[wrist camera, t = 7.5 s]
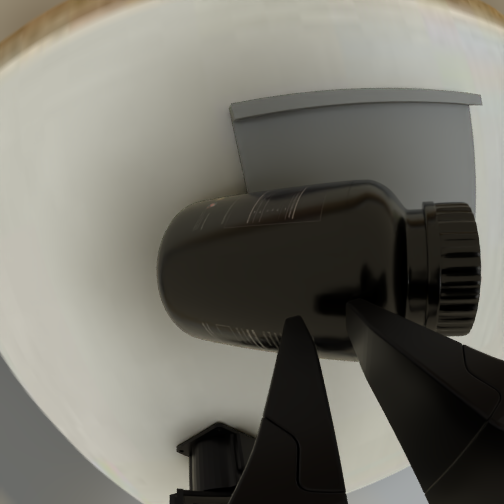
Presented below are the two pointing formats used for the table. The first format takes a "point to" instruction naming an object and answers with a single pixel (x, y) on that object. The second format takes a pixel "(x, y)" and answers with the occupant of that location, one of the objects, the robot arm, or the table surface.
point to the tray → (361, 141)
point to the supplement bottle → (317, 264)
